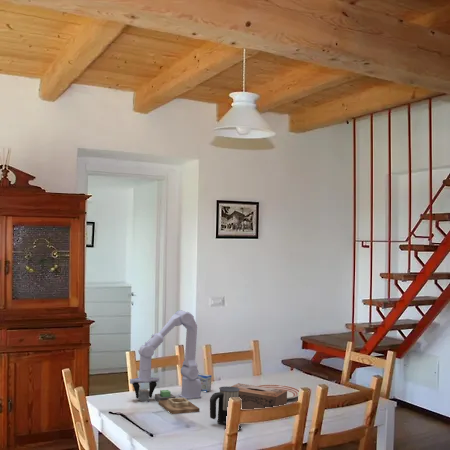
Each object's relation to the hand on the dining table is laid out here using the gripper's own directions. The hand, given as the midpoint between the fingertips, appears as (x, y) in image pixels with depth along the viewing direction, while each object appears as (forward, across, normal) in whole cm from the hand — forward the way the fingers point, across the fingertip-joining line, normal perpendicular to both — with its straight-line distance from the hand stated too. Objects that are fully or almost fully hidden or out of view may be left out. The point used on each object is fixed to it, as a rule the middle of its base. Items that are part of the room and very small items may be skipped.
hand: (143, 397), depth 286 cm
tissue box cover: (+2, -46, +31) cm, 56 cm away
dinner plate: (+2, -69, +9) cm, 70 cm away
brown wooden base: (+1, -12, +17) cm, 21 cm away
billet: (+2, 0, 0) cm, 2 cm away
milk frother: (+2, -24, +49) cm, 55 cm away
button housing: (+1, -10, +3) cm, 11 cm away
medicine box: (+2, -36, -11) cm, 38 cm away
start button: (-1, -10, +3) cm, 10 cm away
